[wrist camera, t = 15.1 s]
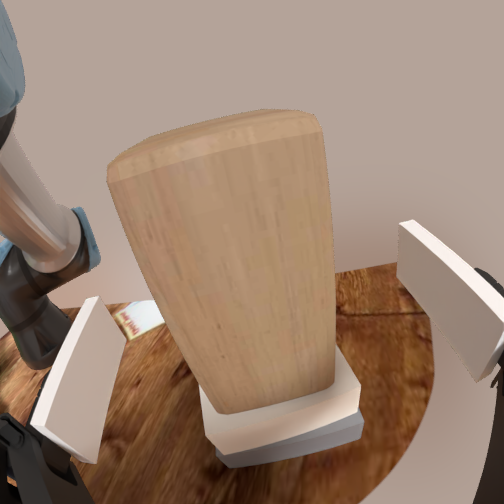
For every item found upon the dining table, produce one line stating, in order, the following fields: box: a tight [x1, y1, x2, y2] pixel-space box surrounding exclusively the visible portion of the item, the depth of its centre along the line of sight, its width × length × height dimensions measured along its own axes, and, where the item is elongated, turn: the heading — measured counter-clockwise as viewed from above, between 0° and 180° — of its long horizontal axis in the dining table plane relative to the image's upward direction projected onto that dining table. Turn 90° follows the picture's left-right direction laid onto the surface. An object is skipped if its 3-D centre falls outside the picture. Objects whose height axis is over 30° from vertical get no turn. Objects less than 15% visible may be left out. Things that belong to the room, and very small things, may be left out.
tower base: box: [215, 407, 364, 468], centre depth 29 cm, size 14×14×5 cm
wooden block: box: [107, 109, 336, 415], centre depth 20 cm, size 10×10×20 cm
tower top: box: [199, 345, 361, 455], centre depth 27 cm, size 13×13×5 cm
